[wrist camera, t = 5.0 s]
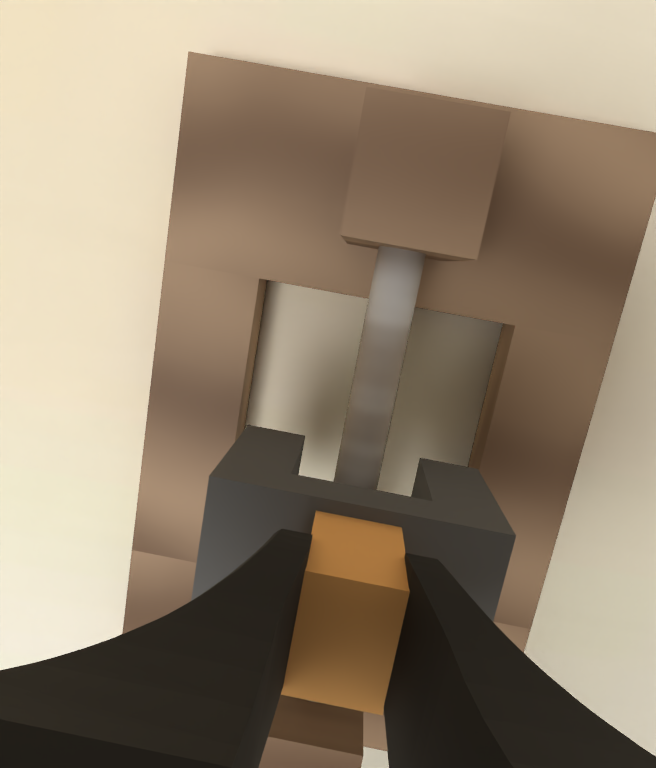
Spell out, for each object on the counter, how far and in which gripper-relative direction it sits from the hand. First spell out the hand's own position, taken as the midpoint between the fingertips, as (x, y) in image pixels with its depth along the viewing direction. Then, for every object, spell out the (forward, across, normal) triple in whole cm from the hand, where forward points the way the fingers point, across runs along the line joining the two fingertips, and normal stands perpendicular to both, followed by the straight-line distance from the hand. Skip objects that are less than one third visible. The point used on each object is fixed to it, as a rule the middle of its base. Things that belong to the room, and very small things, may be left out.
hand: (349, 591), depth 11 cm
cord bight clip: (+5, 0, 0) cm, 5 cm away
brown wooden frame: (+10, 0, 0) cm, 10 cm away
